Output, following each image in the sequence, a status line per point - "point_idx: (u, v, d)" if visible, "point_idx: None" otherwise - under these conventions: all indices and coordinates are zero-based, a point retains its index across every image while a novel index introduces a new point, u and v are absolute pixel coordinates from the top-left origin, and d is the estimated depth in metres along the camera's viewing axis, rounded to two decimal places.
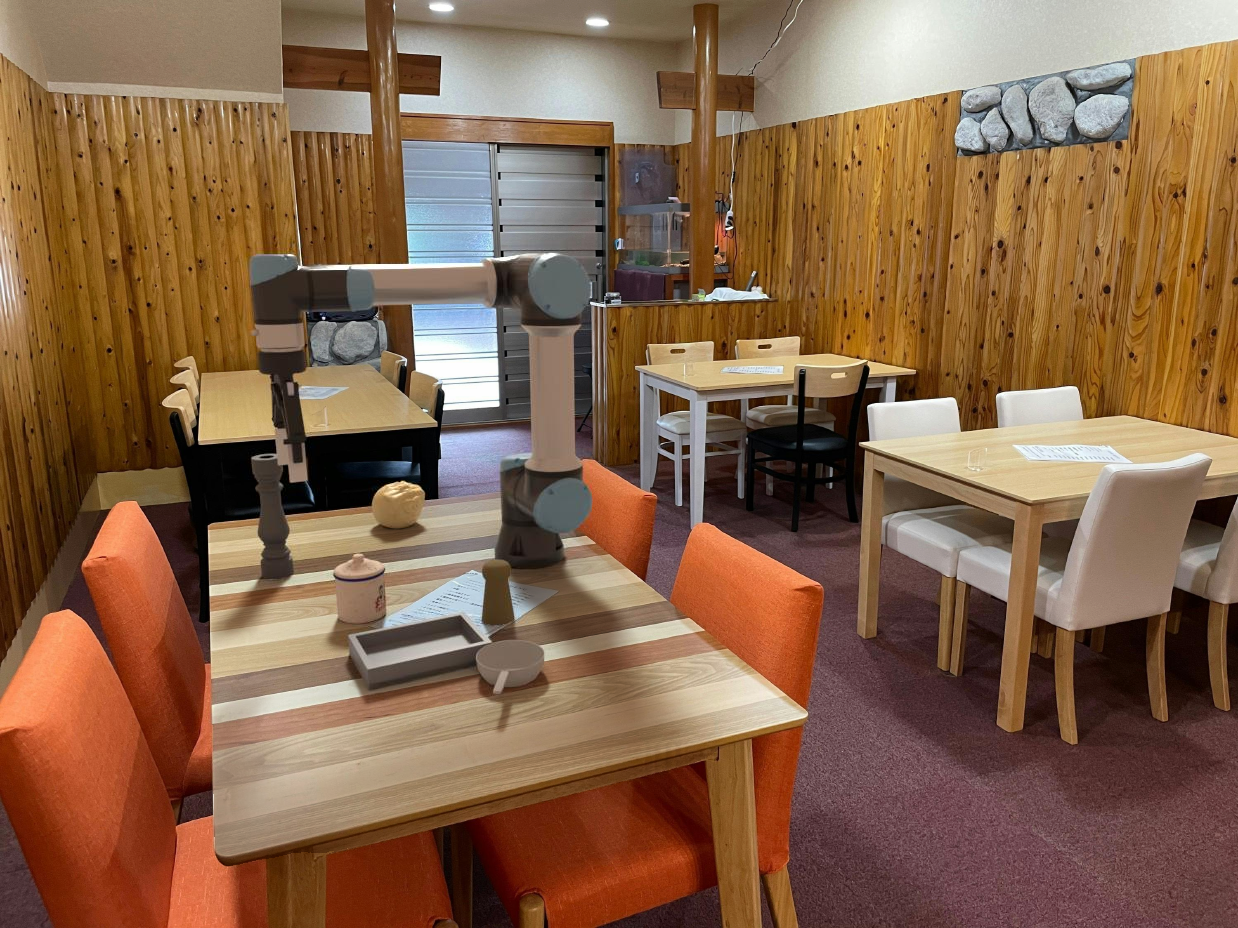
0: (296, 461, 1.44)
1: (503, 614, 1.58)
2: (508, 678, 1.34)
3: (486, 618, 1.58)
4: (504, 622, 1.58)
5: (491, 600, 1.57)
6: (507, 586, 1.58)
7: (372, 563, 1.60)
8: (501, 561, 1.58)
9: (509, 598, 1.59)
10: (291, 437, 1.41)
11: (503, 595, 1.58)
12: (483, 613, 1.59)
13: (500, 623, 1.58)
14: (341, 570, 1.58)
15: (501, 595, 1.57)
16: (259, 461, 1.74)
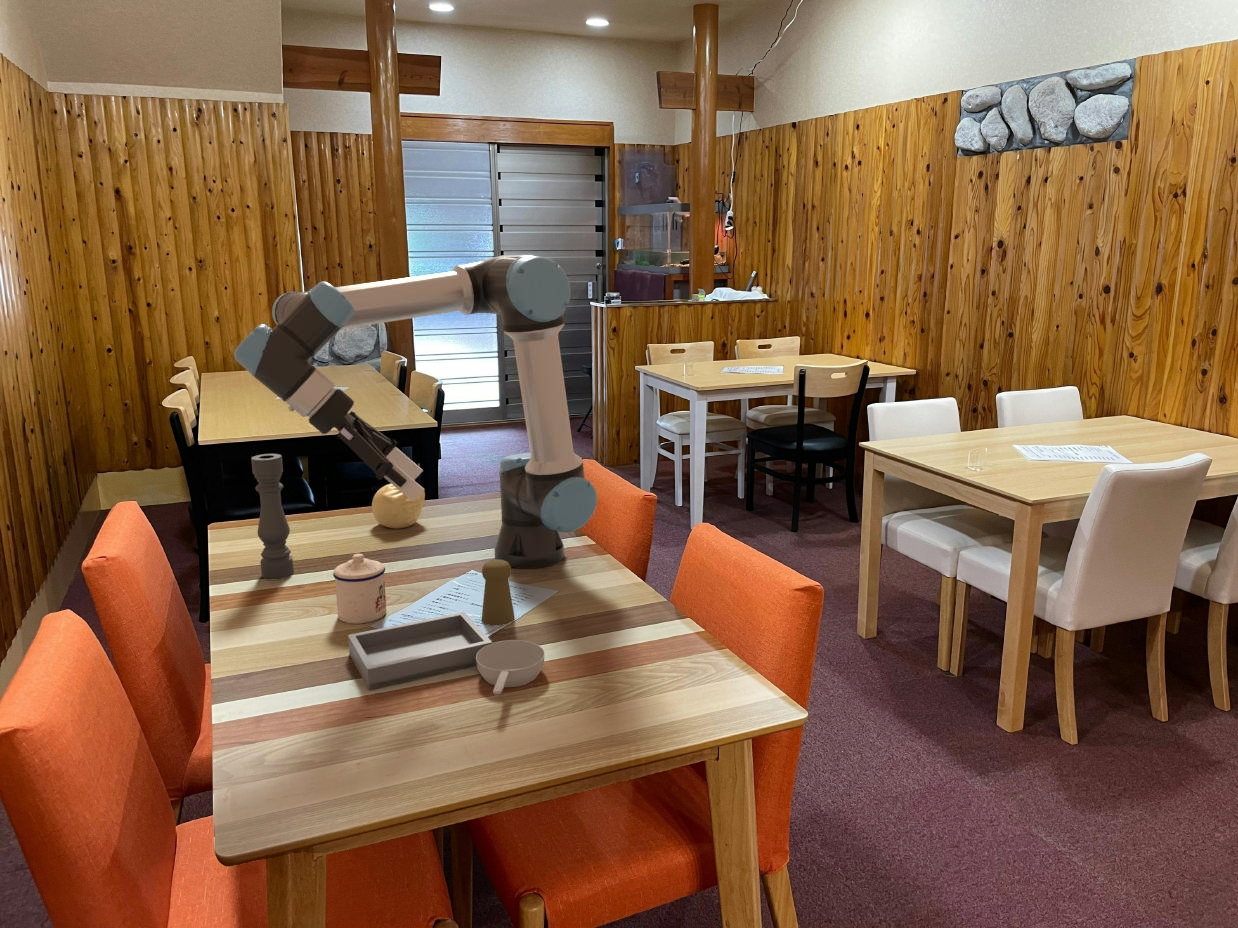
0: (400, 484, 1.45)
1: (503, 614, 1.58)
2: (508, 678, 1.34)
3: (486, 618, 1.58)
4: (504, 622, 1.58)
5: (491, 600, 1.57)
6: (507, 586, 1.58)
7: (372, 563, 1.60)
8: (501, 561, 1.58)
9: (509, 598, 1.59)
10: (376, 472, 1.42)
11: (503, 595, 1.58)
12: (483, 613, 1.59)
13: (500, 623, 1.58)
14: (341, 570, 1.58)
15: (501, 595, 1.57)
16: (259, 461, 1.74)
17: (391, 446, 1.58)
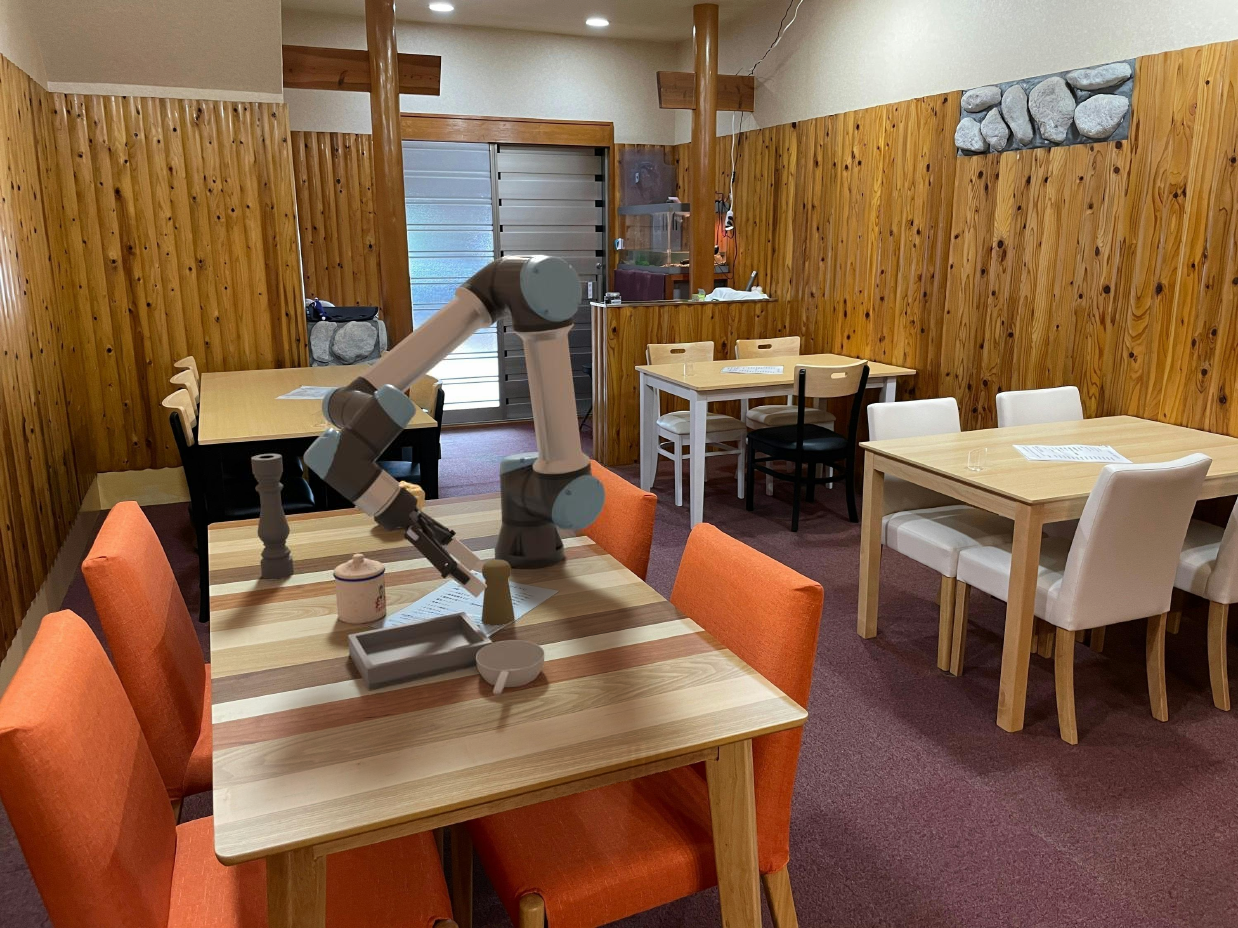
0: (464, 582, 1.48)
1: (503, 614, 1.58)
2: (508, 678, 1.34)
3: (486, 618, 1.58)
4: (504, 622, 1.58)
5: (491, 600, 1.57)
6: (507, 586, 1.58)
7: (372, 563, 1.60)
8: (501, 561, 1.58)
9: (509, 598, 1.59)
10: (442, 573, 1.45)
11: (503, 595, 1.58)
12: (483, 613, 1.59)
13: (500, 623, 1.58)
14: (341, 570, 1.58)
15: (501, 595, 1.57)
16: (259, 461, 1.74)
17: (450, 537, 1.62)
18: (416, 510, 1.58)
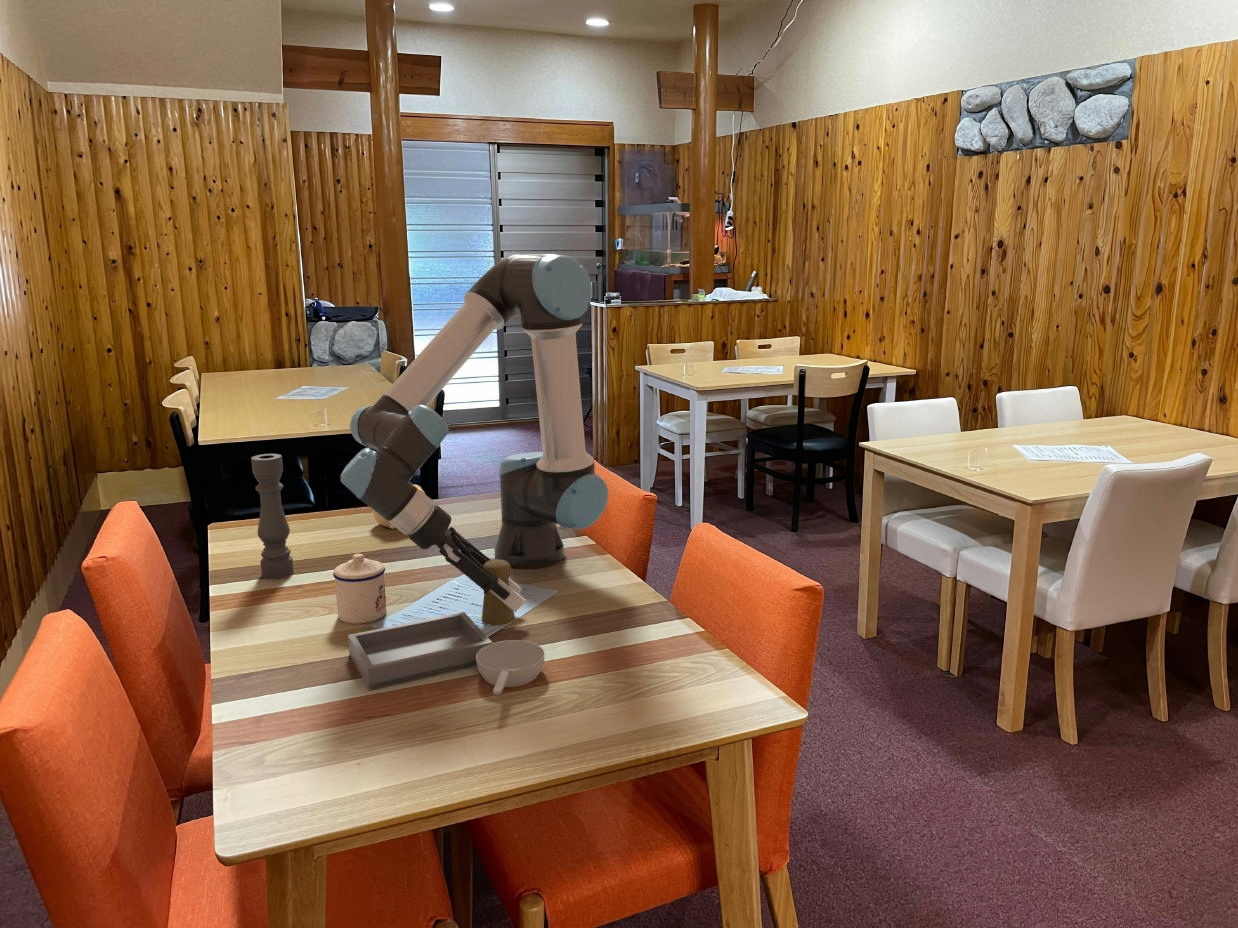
0: (504, 597, 1.55)
1: (503, 614, 1.58)
2: (508, 678, 1.34)
3: (487, 618, 1.58)
4: (504, 622, 1.58)
5: (491, 600, 1.57)
6: None
7: (372, 563, 1.60)
8: (501, 561, 1.58)
9: None
10: (485, 590, 1.52)
11: None
12: (483, 613, 1.59)
13: (500, 623, 1.58)
14: (341, 570, 1.58)
15: None
16: (259, 461, 1.74)
17: None
18: None
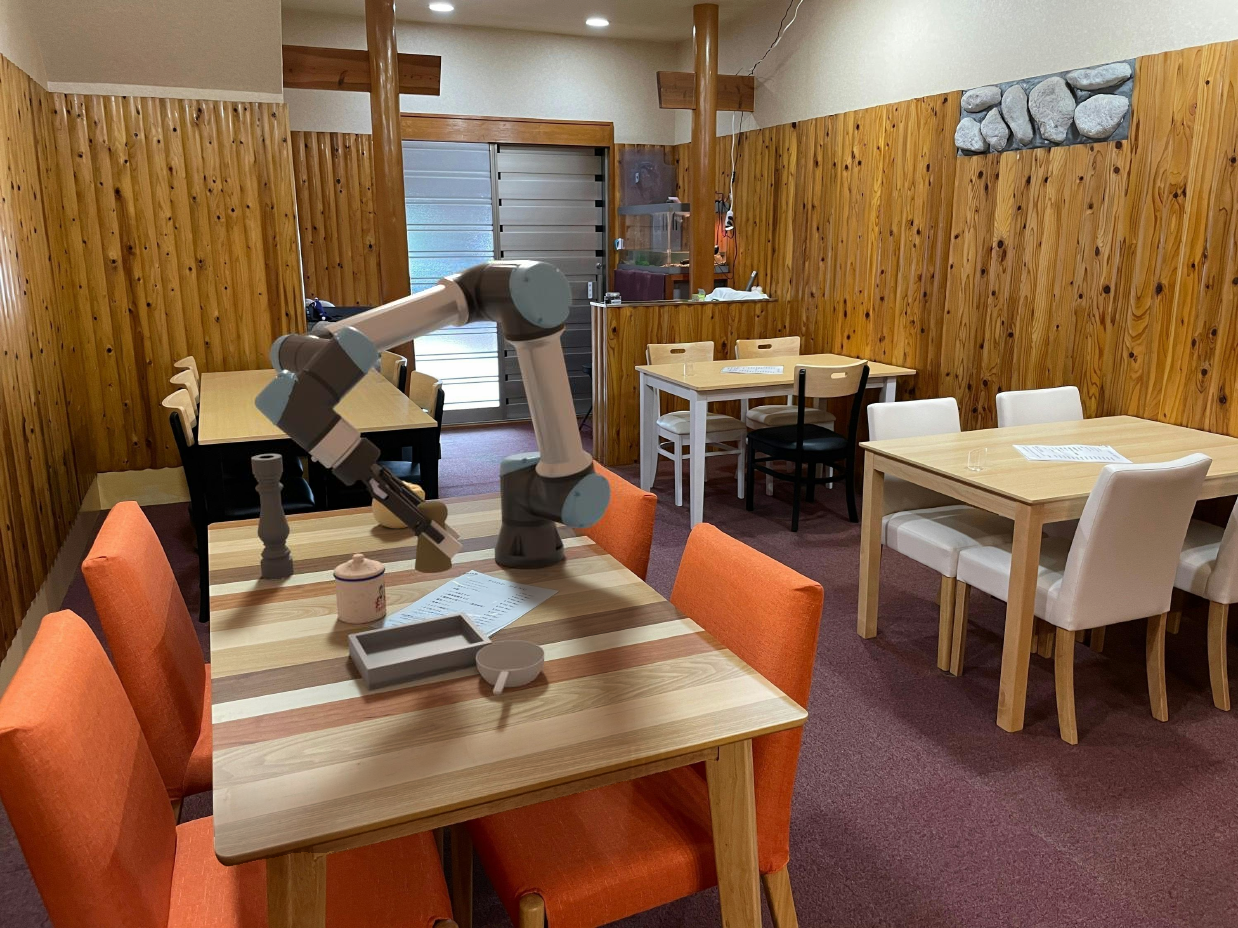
0: (438, 541, 1.40)
1: (437, 561, 1.43)
2: (508, 678, 1.34)
3: (419, 565, 1.43)
4: (439, 569, 1.43)
5: (425, 545, 1.42)
6: None
7: (372, 563, 1.60)
8: (437, 502, 1.43)
9: None
10: (416, 531, 1.37)
11: None
12: (416, 560, 1.44)
13: (434, 570, 1.43)
14: (341, 570, 1.58)
15: None
16: (259, 461, 1.74)
17: None
18: None
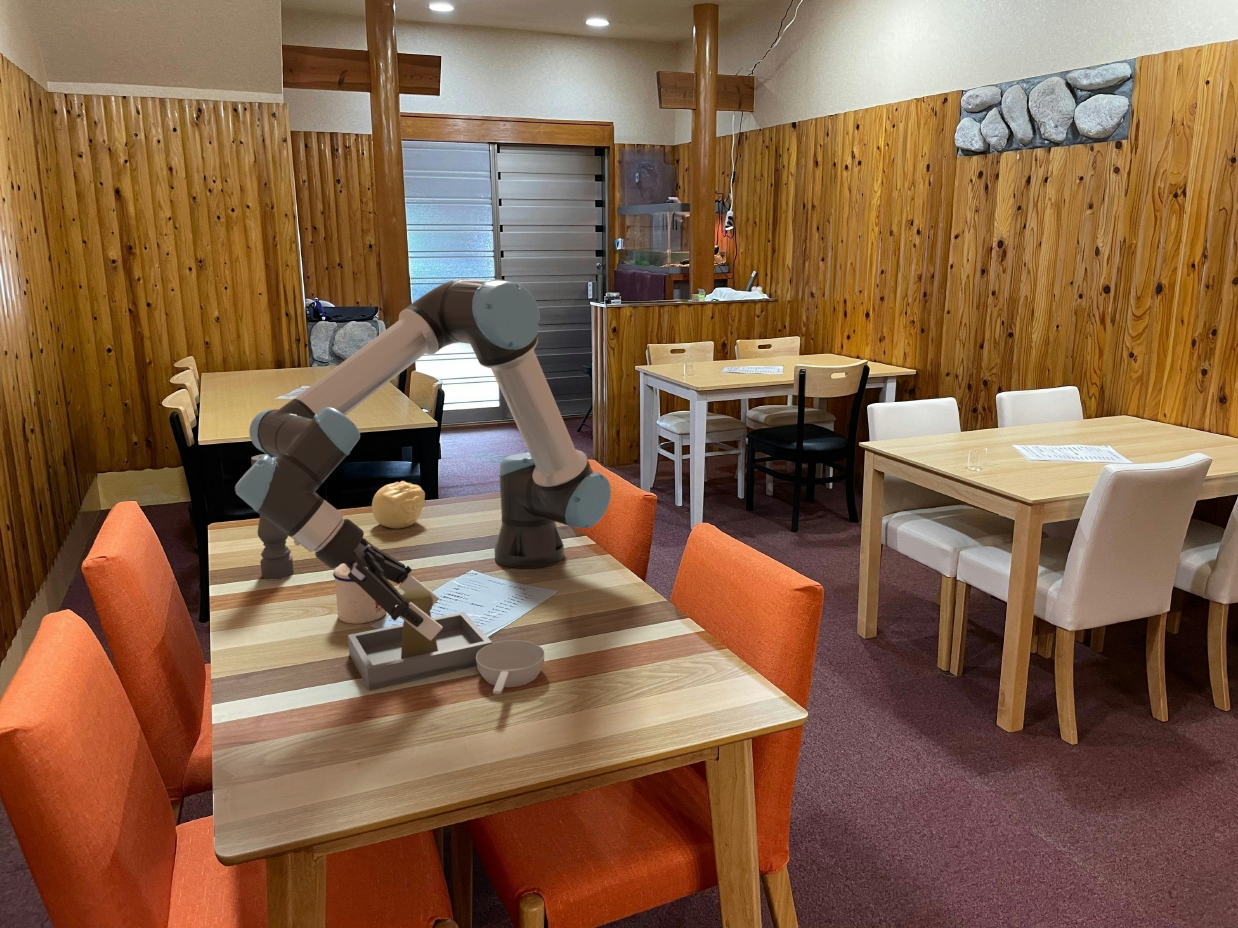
0: (417, 624, 1.36)
1: (423, 651, 1.41)
2: (508, 678, 1.34)
3: (405, 655, 1.41)
4: None
5: (410, 635, 1.40)
6: None
7: None
8: (421, 591, 1.41)
9: None
10: (392, 615, 1.32)
11: None
12: (402, 649, 1.42)
13: None
14: (341, 570, 1.58)
15: None
16: None
17: (405, 574, 1.48)
18: (365, 543, 1.44)
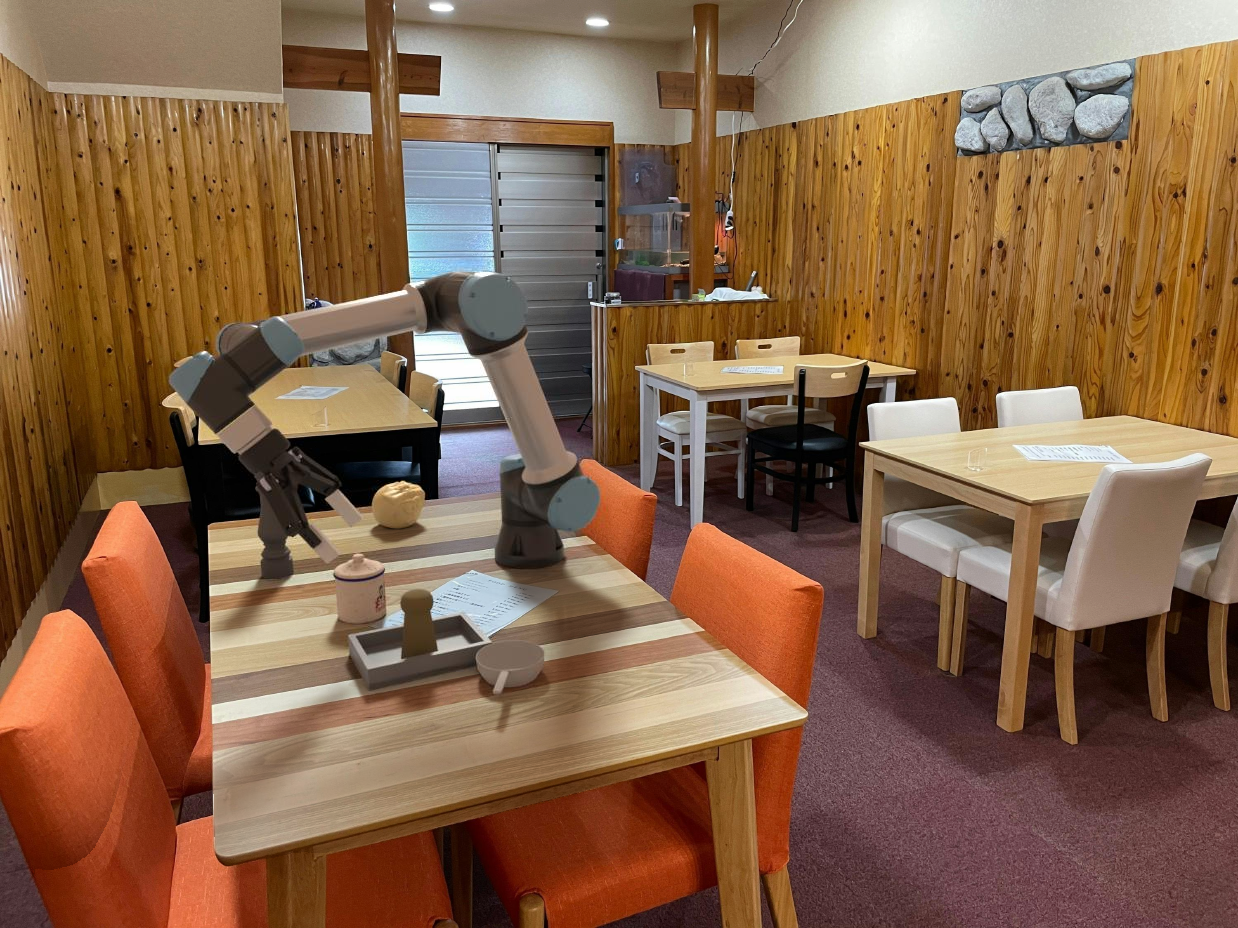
0: (313, 546, 1.36)
1: (423, 651, 1.41)
2: (508, 678, 1.34)
3: (405, 655, 1.41)
4: None
5: (410, 635, 1.40)
6: (429, 619, 1.42)
7: (372, 563, 1.60)
8: (422, 591, 1.41)
9: (431, 633, 1.42)
10: (286, 532, 1.34)
11: (424, 630, 1.41)
12: (402, 649, 1.42)
13: None
14: (341, 570, 1.58)
15: (421, 630, 1.41)
16: None
17: (334, 488, 1.50)
18: (297, 453, 1.46)
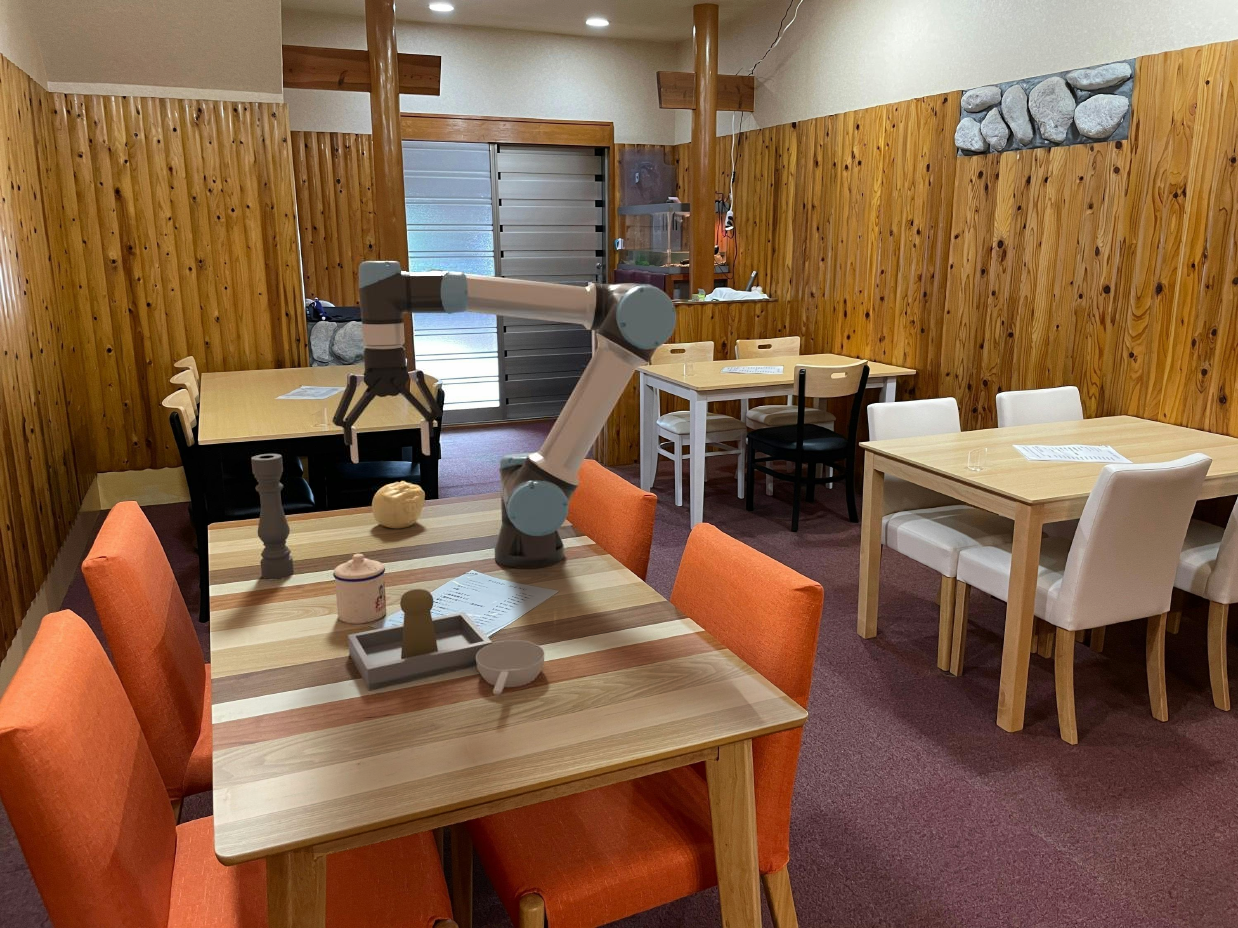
0: (345, 442, 1.64)
1: (423, 651, 1.41)
2: (508, 678, 1.34)
3: (405, 655, 1.41)
4: None
5: (410, 635, 1.41)
6: (429, 619, 1.42)
7: (372, 563, 1.60)
8: (422, 591, 1.42)
9: (431, 633, 1.42)
10: None
11: (424, 630, 1.41)
12: (402, 649, 1.42)
13: None
14: (341, 570, 1.58)
15: (421, 630, 1.41)
16: (259, 461, 1.74)
17: (427, 419, 1.69)
18: (417, 376, 1.67)
